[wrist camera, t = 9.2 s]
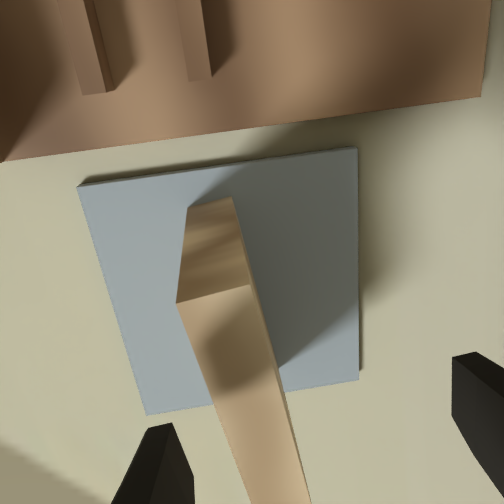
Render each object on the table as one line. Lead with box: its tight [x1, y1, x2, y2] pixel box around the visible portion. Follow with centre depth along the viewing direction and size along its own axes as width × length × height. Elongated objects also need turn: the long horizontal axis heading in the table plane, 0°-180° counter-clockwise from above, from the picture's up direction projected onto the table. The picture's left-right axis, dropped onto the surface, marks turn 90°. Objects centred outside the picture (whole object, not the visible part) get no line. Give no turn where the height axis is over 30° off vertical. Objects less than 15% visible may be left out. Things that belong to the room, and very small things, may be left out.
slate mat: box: [76, 146, 359, 416], centre depth 20 cm, size 12×13×1 cm
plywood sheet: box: [176, 196, 311, 504], centre depth 16 cm, size 2×10×8 cm, turn 14°
